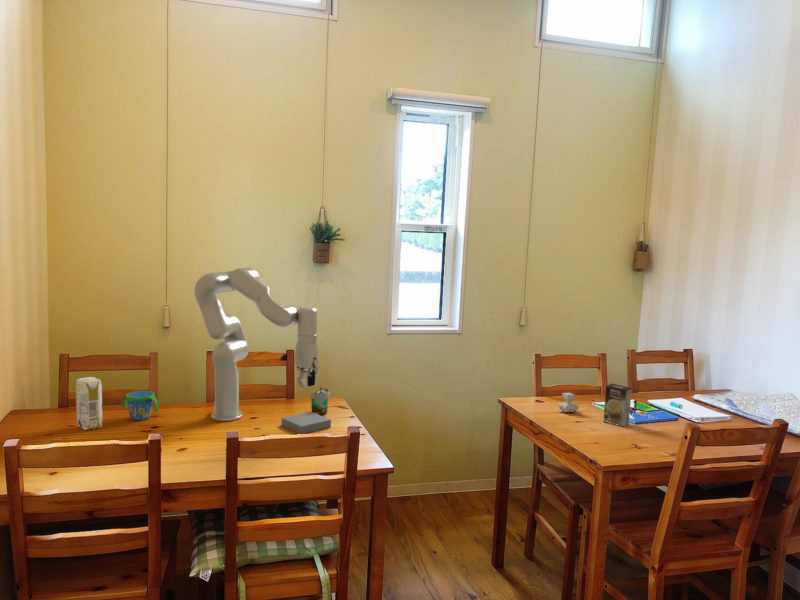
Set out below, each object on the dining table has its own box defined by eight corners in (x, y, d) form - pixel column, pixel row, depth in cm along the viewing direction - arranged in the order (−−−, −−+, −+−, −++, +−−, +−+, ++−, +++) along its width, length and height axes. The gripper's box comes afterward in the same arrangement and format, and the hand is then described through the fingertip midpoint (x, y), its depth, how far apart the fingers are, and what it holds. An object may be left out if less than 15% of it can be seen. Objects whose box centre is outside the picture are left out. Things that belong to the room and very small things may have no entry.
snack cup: (165, 417, 244) (165, 393, 243) (145, 424, 234) (145, 399, 233) (135, 412, 249) (135, 388, 248) (115, 419, 239) (115, 394, 238)
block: (296, 385, 236) (297, 370, 236) (308, 383, 240) (308, 368, 240) (304, 387, 232) (304, 372, 232) (316, 385, 236) (316, 371, 236)
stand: (281, 425, 238) (281, 417, 238) (310, 418, 248) (310, 411, 248) (301, 434, 228) (301, 426, 228) (330, 427, 238) (330, 419, 237)
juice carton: (83, 432, 223) (82, 382, 221) (75, 427, 229) (73, 378, 227) (104, 428, 228) (103, 379, 227) (95, 422, 234) (94, 375, 232)
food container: (324, 418, 249) (324, 395, 248) (310, 417, 250) (310, 393, 249) (333, 410, 261) (333, 387, 260) (320, 409, 262) (320, 386, 261)
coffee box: (602, 422, 255) (604, 385, 254) (608, 419, 260) (611, 383, 258) (623, 427, 249) (626, 389, 247) (629, 424, 254) (632, 387, 252)
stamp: (563, 414, 265) (564, 396, 264) (555, 410, 271) (556, 392, 270) (580, 413, 267) (581, 395, 266) (572, 409, 274) (573, 391, 273)
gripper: (287, 336, 238) (286, 381, 240) (311, 343, 226) (311, 390, 228) (303, 335, 243) (302, 378, 245) (327, 341, 231) (327, 387, 233)
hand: (306, 383), depth 236 cm, fingers closed on block, 5 cm apart
